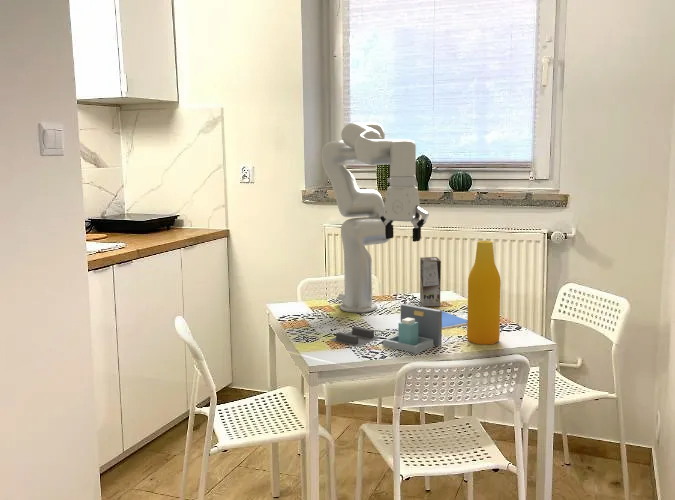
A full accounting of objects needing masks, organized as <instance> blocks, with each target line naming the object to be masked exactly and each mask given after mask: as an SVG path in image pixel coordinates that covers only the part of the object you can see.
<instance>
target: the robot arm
mask: <svg viewBox="0 0 675 500" xmlns="http://www.w3.org/2000/svg"><path fill="white" fill-rule="evenodd" d="M340 137H341V140H333V141H329V142H327V143H325V145H323V147H322V149H321V150H322V151H321V163H322V167H323V170H324V172H325V174H326V176H327V178H328V180H329V181H330V184H331V186H332V190H333V194H334V197H335V202H336V205H337V208H338V211H339V213H340V214H341V216H342V217H345V218H349V219H346V220H345V221H343V223H342V224H341V227H340V237H341V242H342V247H343V270H344V271H343V272H344V273H343V274H344V275H343V276H344V293H339V294H338V295H337V297H336V299H337V301H342V302H341V304H339V305H340V310H342V311H344V312H348V313H369V312H373V311H375V310H377V303H375V302H373V263H372V262H373V260H372V256H371V253H370V252H369V251H368V250H367V248H366V246H371V245H382V244H387V243H388V242H389V241H390V239H393V238H394V224H393V222H407V223H408V222H409V223H411V224H412V226H413V227H412V242H414V243H415V242H420V241H421V238H422V237H421V236H422V227H423V226H424V225H425V224H426V223H427V220H428V217H429V215H430V214H429V213H428V211H426V210H424V209H423V208H421V203H420V194H419V190H418V187H417V186H416V183H417V180H416V178H417V175H416V172H417V171H416V168H417V167H416V164H417V163H416V162H417V161H416V156H417V155H416V153H417V149H416V148H417V146H416V145H417V144H416V143H415V141H414V140H411V139H397V138H395V139H392V138H391V139H387V138H386V139H385V137H386V134H385V130H384V128H383V126H382V125H381V124H380V123H377V122H372V121H371V122H369V121H367V122H365V121H364V122H361V121H360V122H349V123H347V124H346V125H345V126H344V127H343V128H342V129H341V134H340ZM346 165H348V166H349V165H371V166H377V165H379V166H380V165H383V166H384V165H389V177H388V178H387V180H386V181H387V183H388V184H389V186H387V189H386V194H385V202H384V200H383V197H382V195H381V193H380V192H379V191H377V190H376V189H371V188H370V189H360V187H358V184H357V180H356V178H355V176H354V175H353V173H351V171H350V170H349V169H348V168H346V167H345V166H346ZM420 217H421V219H420Z"/></svg>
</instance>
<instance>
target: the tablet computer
mask: <svg viewBox="0 0 675 500" xmlns="http://www.w3.org/2000/svg"><path fill="white" fill-rule="evenodd" d="M435 309H436V310H439V309H437V308H435ZM467 320H468V319H466V318H462V317H459V316H457V315H454V314H451V313H448V312H445V311H443V310H442V330H447V329H453V328H458V327H464V326H467Z"/></svg>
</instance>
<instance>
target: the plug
mask: <svg viewBox="0 0 675 500" xmlns="http://www.w3.org/2000/svg"><path fill="white" fill-rule="evenodd" d="M397 327H398V334H399V341H398V342H401V343H405V344H410V345H417V344H419V343H418V322H415V319H414V318H405V319H403V320H402V322H401V321H400V322H398V326H397Z"/></svg>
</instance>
